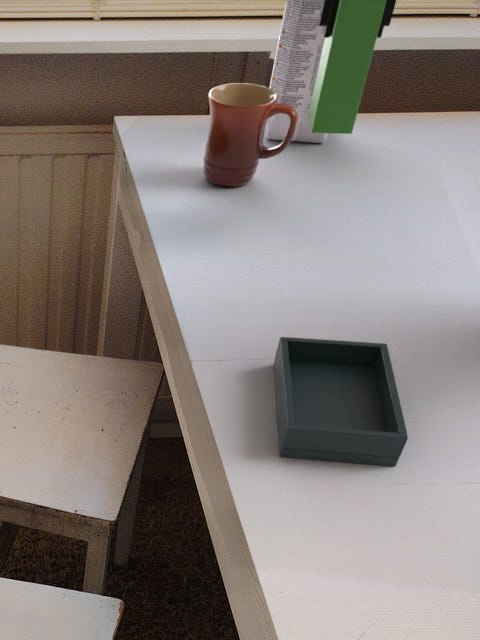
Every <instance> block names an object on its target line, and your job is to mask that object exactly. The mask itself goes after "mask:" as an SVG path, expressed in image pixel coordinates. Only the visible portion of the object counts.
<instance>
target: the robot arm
mask: <svg viewBox="0 0 480 640" xmlns="http://www.w3.org/2000/svg"><path fill="white" fill-rule="evenodd" d="M338 3H339V0H323V1H322V6H321V11H320V15H319V21H318V26H323V28H322V32H323V36H324V38H329V36H331V34H332V30H333V26H334V21H335V17H336V12H337V8H338ZM396 3H397V0H386V4H385V8H384V11H383V15H382V19H381V23H380V27H379V31H378V35H377V38H376V39H380V38H382V35H383V31H384V28H385V27H390V25H391V22H392V18H393V14H394V11H395V8H396Z"/></svg>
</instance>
